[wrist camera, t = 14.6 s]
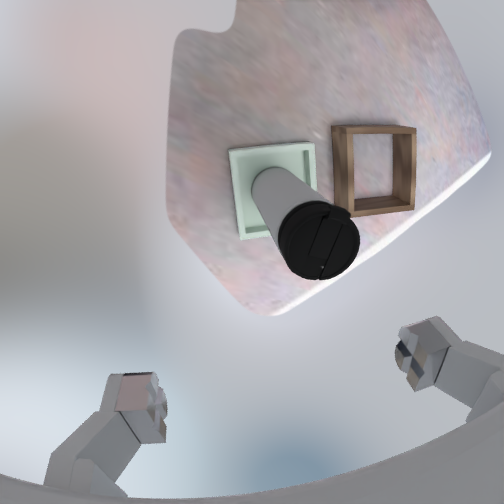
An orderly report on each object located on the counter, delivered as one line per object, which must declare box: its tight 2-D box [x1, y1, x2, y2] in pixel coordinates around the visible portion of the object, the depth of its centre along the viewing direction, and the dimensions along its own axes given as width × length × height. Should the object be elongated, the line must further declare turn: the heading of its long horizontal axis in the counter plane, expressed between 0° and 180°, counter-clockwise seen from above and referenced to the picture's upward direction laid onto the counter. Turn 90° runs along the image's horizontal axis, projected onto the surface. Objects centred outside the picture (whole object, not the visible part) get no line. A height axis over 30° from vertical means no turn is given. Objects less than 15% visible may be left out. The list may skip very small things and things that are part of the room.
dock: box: [228, 142, 317, 240], centre depth 41 cm, size 12×11×2 cm
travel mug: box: [251, 167, 360, 280], centre depth 33 cm, size 6×7×20 cm
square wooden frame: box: [331, 125, 416, 218], centre depth 40 cm, size 12×11×5 cm
